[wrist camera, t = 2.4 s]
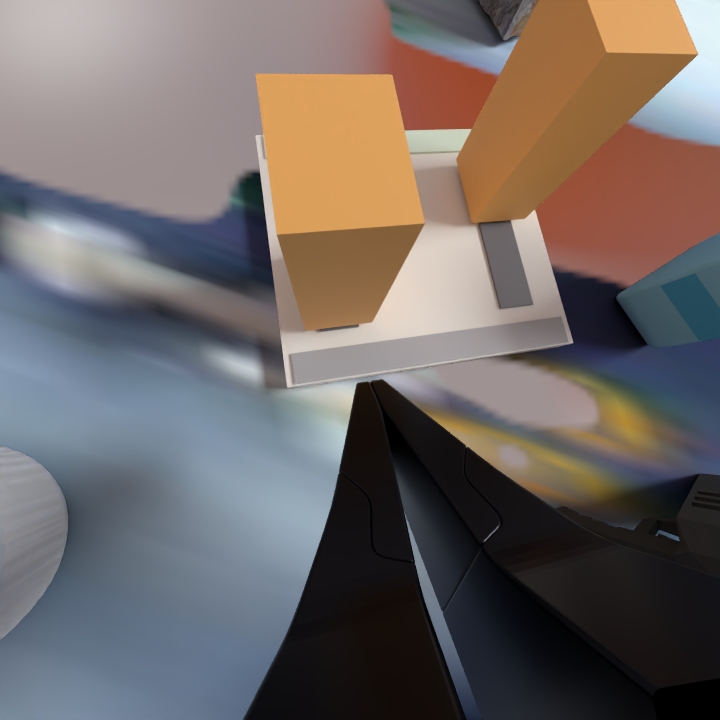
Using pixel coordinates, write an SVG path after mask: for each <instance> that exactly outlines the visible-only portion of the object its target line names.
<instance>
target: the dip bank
mask: <svg viewBox="0 0 720 720" xmlns="http://www.w3.org/2000/svg"><path fill="white" fill-rule="evenodd" d="M471 130H472V129H457V130H456V129H455V130H413V131H405V135H406V139H407V144H408V148H409V153H410V157H411V162H412V166H413V171H414V176H415V180H416V185H417V189H418V194H419V198H420V203H421V207H422V212H423V216H424V221H425V225H424V226H423V228H422V230H421V232H420V234H419V236H418V238H417V240H416V241H415V243H414V245H413V247H412V249H411V251H410V253H409V255H408V256H407V258H406V260H405V262H404V264H403V266H402V268H401V270H400V271H399V273H398V275H397V277H396V279H395V281H394V283H393V285H392V286H391V288H390V290H389V292H388V294H387V296H386V298H385V300H384V301H383V303H382V305H381V307H380V309H379V311H378V313H377V315H376V316H375V318H374V320H373V322H372V323H364V324H356V325H348V326H340V327H332V328H325V329H317V330H309V331H305V328H304V325H303V321H302V318H301V315H300V311H299V308H298V304H297V301H296V298H295V294H294V291H293V288H292V284H291V281H290V278H289V274H288V271H287V268H286V264H285V261H284V258H283V254H282V251H281V248H280V244H279V241H278V238H277V234H276V226H275V218H274V211H273V203H272V195H271V188H270V180H269V172H268V165H267V157H266V149H265V142H264V134H263V135H256V143H257V151H258V159H259V167H260V175H261V183H262V191H263V199H264V207H265V215H266V223H267V231H268V239H269V247H270V255H271V263H272V271H273V279H274V287H275V295H276V303H277V311H278V319H279V327H280V335H281V343H282V351H283V359H284V367H285V375H286V383H287V388H289V389H291V388H298V387H304V386H311V385H317V384H324V383H330V382H336V381H343V380H349V379H356V378H362V377H368V376H375V375H381V374H388V373H394V372H401V371H407V370H413V369H420V368H426V367H433V366H439V365H446V364H452V363H458V362H465V361H471V360H478V359H484V358H491V357H497V356H503V355H510V354H516V353H523V352H529V351H535V350H542V349H548V348H555V347H560V346H564V345H568V344H572V343H573V340H572V336H571V333H570V329H569V326H568V322H567V319H566V315H565V312H564V309H563V305H562V302H561V298H560V295H559V291H558V288H557V284H556V281H555V278H554V274H553V271H552V267H551V264H550V260H549V257H548V253H547V250H546V246H545V243H544V240H543V236H542V233H541V229H540V226H539V222H538V219H537V216H536V212H535V210H534V211H533V212H532V213H531V214H529V215H528V216H527V217H526V218H525V219H518V220H505V221H492V222H479V223H472V221H471V217H470V213H469V209H468V205H467V201H466V197H465V193H464V189H463V185H462V181H461V177H460V173H459V169H458V165H457V161H456V158H457V156H458V155H459V153H460V151H461V149H462V147H463V145H464V143H465V141H466V139H467V137H468V135H469V133H470V131H471Z"/></svg>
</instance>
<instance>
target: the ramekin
mask: <svg viewBox="0 0 720 720" xmlns="http://www.w3.org/2000/svg"><path fill="white" fill-rule="evenodd" d="M67 534H68V511H67V505H66V501H65V498H64V495H63V492H62V490H61V488H60V486H59V485H58V483H57V482H56V480H55V479H54V478H53V476H52V475H51V474H50V473H49V472H48V471H47V470H46V469H45V468H44V467H43V466H42V465H41V464H39V463H38V462H36V461H35V460H34V459H33V458H31V457H29V456H26V455H24V454H23V453H21V452H19V451H14V450H12V449H10V448H7V447H0V640H1V639H2V638H3V637H4V636H5V635H7V634H8V633H9V632H10V631H11V630H12V629H13V628H14V627H15V626H16V625H17V624H18V623H19V622H20V621H21V620H22V618H23V617H25V616H26V615H27V614H28V613H29V612H30V611H31V609H32V608H33V607H34V605H35V604H36V602H37V601H38V600H39V599H40V598H41V597H42V595H43V594H44V593H45V591H46V589H47V587H48V586H49V584H50V583H51V582H52V580H53V578H54V575H55V573H56V572H57V570H58V568H59V565H60V562H61V559H62V557H63V554H64V549H65V545H66V541H67Z"/></svg>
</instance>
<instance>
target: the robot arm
mask: <svg viewBox="0 0 720 720" xmlns="http://www.w3.org/2000/svg"><path fill="white" fill-rule="evenodd" d="M404 512H405V514H406V517H407V520H408V522H409V525H410V528H411V530H412V533H413V536H414V538H415V541H416V544H417V546H418V549H419V552H420V554H421V557H422V560H423V562H424V565H425V568H426V570H427V573H428V576H429V578H430V581H431V583H432V586H433V589H434V591H435V594H436V597H437V599H438V602H439V605H440V607H441V610H442V612H443V616H444V618H445V621H446V624H447V626H448V629H449V632H450V634H451V637H452V640H453V642H454V645H455V648H456V650H457V653H458V656H459V658H460V661H461V664H462V666H463V669H464V672H465V674H466V677H467V680H468V682H469V685H470V688H471V690H472V693H473V695H474V698H475V701H476V703H477V706H478V709H479V711H480V714H481V717H482V719H483V720H720V577H717V576H714V575H711V574H708V573H705V572H702V571H699V570H696V569H693V568H690V567H687V566H684V565H680V564H677V563H674V562H671V561H668V560H665V559H662V558H659V557H656V556H653V555H650V554H647V553H643V552H640V551H637V550H634V549H631V548H628V547H625V546H622V545H619V544H617V543H614V542H612V541H609V540H607V539H605V538H603V537H601V536H599V535H597V534H595V533H593V532H591V531H589V530H587V529H586V528H584V527H582V526H581V525H579V524H577V523H576V522H574V521H573V520H571V519H570V518H568V517H567V516H565V515H564V514H562V513H561V512H559V511H558V510H556V509H555V508H553V507H552V506H550V505H549V504H547V503H546V502H544V501H543V500H541V499H540V498H538V497H537V496H535V495H534V494H532V493H531V492H529V491H528V490H526V489H525V488H523V487H522V486H520V485H519V484H517V483H516V482H514V481H513V480H511V479H510V478H509V477H507V476H506V475H504V474H503V473H501V472H500V471H498V470H497V469H496V468H494V467H493V466H492V465H490V464H489V463H488V462H487V461H485V460H484V459H483V458H481V457H480V456H479V455H477V454H476V453H475V452H474V451H472V450H471V449H470V448H469V447H466V445H465V444H463V443H462V442H461V441H460V440H458V439H457V438H456V437H455V436H453V435H452V434H451V433H450V432H448V431H447V430H446V429H445V428H443V427H442V426H441V425H440V424H438V423H437V422H436V421H435V420H433V419H432V418H431V417H429V416H428V415H427V414H426V413H424V412H423V411H422V410H421V409H419V408H418V407H417V406H416V405H414V404H413V403H412V402H411V401H409V400H408V399H407V398H406V397H404V396H403V395H402V394H401V393H399V392H398V391H397V390H396V389H394V388H393V387H392V386H391V385H389V384H388V383H387V382H386V381H384V380H382V379H380V380H373V381H371V382H368V381H367V382H361V383H357V385H356V389H355V394H354V399H353V404H352V409H351V414H350V419H349V424H348V429H347V434H346V439H345V444H344V449H343V454H342V459H341V464H340V469H339V474H338V478H337V483H336V488H335V492H334V496H333V501H332V505H331V509H330V512H329V515H328V518H327V522H326V525H325V528H324V532H323V535H322V537H321V540H320V543H319V546H318V549H317V552H316V555H315V558H314V561H313V564H312V567H311V570H310V573H309V576H308V579H307V581H306V584H305V587H304V590H303V593H302V596H301V599H300V601H299V604H298V607H297V609H296V612H295V614H294V617H293V619H292V622H291V624H290V627H289V629H288V631H287V634H286V636H285V638H284V640H283V642H282V644H281V646H280V648H279V650H278V652H277V654H276V656H275V658H274V660H273V662H272V664H271V666H270V668H269V670H268V672H267V674H266V676H265V678H264V680H263V681H262V683H261V685H260V687H259V689H258V691H257V693H256V695H255V697H254V699H253V701H252V703H251V705H250V707H249V709H248V711H247V713H246V715H245V717H244V719H243V720H466V717H465V714H464V712H463V709H462V706H461V703H460V700H459V697H458V695H457V692H456V689H455V686H454V683H453V680H452V678H451V675H450V672H449V669H448V666H447V663H446V661H445V658H444V655H443V652H442V649H441V646H440V644H439V641H438V638H437V635H436V632H435V629H434V627H433V624H432V621H431V618H430V615H429V612H428V610H427V607H426V604H425V601H424V597H423V593H422V590H421V586H420V582H419V578H418V574H417V570H416V566H415V560H414V555H413V551H412V546H411V542H410V537H409V532H408V528H407V523H406V519H405V514H404Z"/></svg>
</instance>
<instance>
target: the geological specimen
mask: <svg viewBox="0 0 720 720" xmlns="http://www.w3.org/2000/svg"><path fill="white" fill-rule="evenodd" d="M538 1H539V0H479V2H480V4H481V7H482V8H483V9H484V11H485V13H487V14H488V15H490V17H491V20H492V22H493V23H494V25H495V27H496V28H497V29H498V30H499V33H500V36H501V37H502V39H503V40H508V39H509V38H511V37H513V36H520V35H521V33H522V31H523V29H524V28H525V26H526V24H527V22H528V20H529V18H530V16H531V14H532V12H533V10H534V8H535V6H536V4H537V3H538Z"/></svg>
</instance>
